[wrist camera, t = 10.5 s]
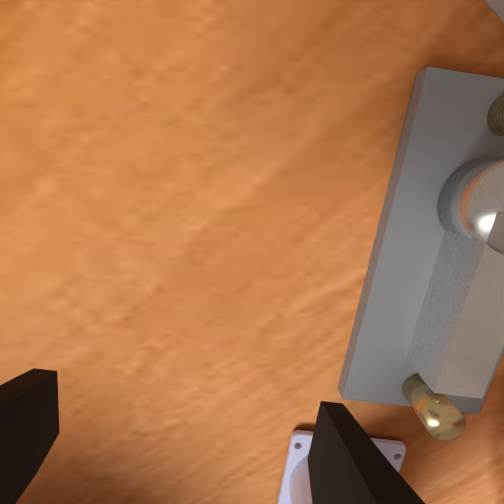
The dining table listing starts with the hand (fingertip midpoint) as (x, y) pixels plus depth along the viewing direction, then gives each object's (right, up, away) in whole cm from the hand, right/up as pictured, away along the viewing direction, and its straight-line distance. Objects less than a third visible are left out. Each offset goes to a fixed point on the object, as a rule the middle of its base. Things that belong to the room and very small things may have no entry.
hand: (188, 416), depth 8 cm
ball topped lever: (+13, +4, +9) cm, 16 cm away
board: (+13, +4, +10) cm, 17 cm away
